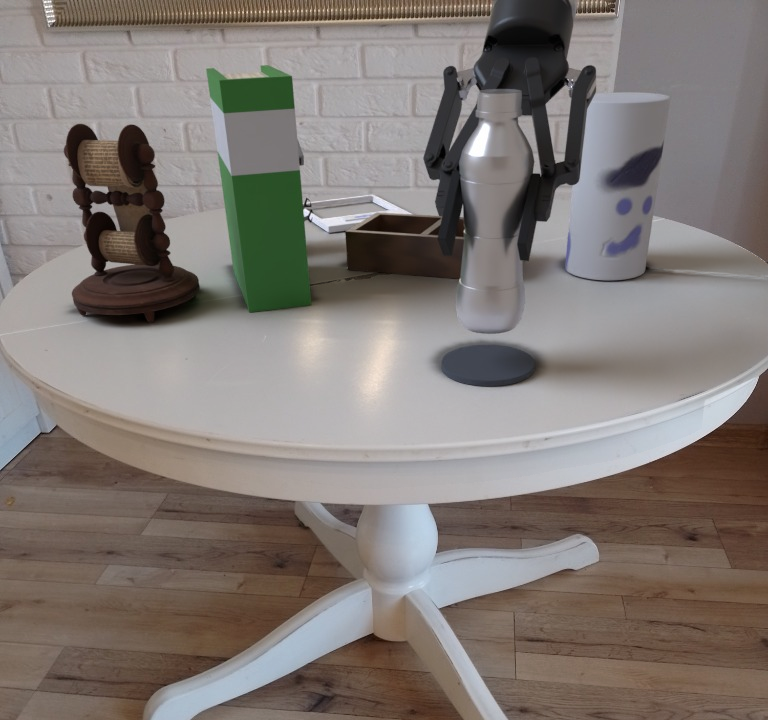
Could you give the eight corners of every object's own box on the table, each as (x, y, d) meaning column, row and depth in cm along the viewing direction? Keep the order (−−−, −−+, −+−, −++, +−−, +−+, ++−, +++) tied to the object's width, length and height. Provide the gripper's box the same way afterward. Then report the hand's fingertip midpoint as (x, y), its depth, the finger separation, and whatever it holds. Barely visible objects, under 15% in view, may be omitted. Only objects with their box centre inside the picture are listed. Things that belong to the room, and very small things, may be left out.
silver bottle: (452, 341, 73) (457, 96, 62) (457, 316, 78) (462, 87, 67) (523, 343, 72) (541, 95, 61) (523, 317, 77) (539, 86, 67)
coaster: (543, 355, 79) (543, 349, 79) (522, 391, 72) (523, 385, 72) (456, 345, 82) (456, 340, 82) (428, 379, 75) (428, 373, 75)
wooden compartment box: (521, 258, 108) (523, 220, 105) (500, 282, 99) (502, 241, 97) (377, 248, 115) (376, 212, 112) (347, 269, 106) (345, 231, 103)
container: (608, 287, 96) (631, 103, 86) (548, 269, 103) (562, 96, 92) (661, 270, 101) (689, 94, 90) (600, 254, 108) (619, 89, 97)
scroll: (223, 292, 100) (198, 115, 89) (157, 332, 88) (119, 136, 77) (125, 283, 104) (89, 114, 93) (50, 321, 93) (-1, 133, 82)
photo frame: (328, 225, 122) (294, 202, 136) (328, 232, 123) (294, 209, 137) (414, 213, 126) (373, 193, 140) (414, 221, 127) (373, 199, 141)
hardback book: (233, 271, 107) (206, 68, 94) (287, 265, 109) (268, 65, 96) (249, 312, 93) (219, 80, 80) (311, 305, 94) (292, 76, 81)
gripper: (640, 47, 72) (597, 279, 68) (438, 50, 78) (388, 264, 74) (644, -23, 65) (597, 231, 61) (422, -14, 71) (366, 219, 67)
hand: (483, 249), depth 68 cm, fingers closed on silver bottle, 6 cm apart
